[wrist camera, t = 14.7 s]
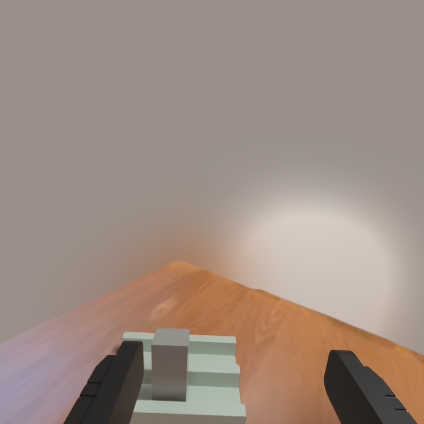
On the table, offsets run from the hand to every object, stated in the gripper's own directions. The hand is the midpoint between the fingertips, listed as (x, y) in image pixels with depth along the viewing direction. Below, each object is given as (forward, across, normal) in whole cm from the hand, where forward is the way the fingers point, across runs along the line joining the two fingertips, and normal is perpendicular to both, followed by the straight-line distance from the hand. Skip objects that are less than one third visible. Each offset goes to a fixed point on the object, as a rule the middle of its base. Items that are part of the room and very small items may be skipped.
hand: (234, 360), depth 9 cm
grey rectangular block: (+18, +6, +29) cm, 34 cm away
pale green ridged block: (+21, +6, +30) cm, 37 cm away
